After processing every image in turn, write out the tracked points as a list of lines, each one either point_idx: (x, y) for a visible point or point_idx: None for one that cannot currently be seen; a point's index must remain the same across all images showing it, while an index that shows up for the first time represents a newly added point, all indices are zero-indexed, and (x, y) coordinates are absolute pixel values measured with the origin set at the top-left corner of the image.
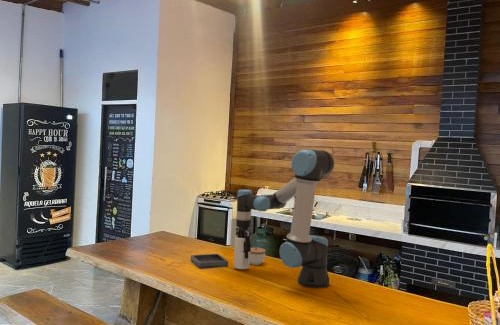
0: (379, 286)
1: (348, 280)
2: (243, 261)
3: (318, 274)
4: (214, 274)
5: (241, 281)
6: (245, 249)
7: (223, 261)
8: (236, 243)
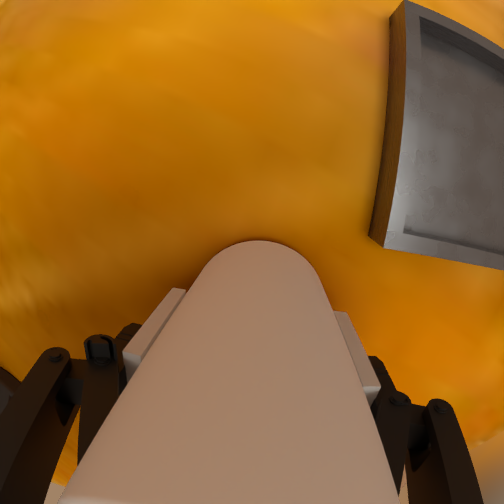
0: None
1: (55, 475)
2: (163, 302)
3: None
4: (220, 39)
5: (41, 159)
6: (60, 367)
7: (393, 198)
8: (201, 387)
